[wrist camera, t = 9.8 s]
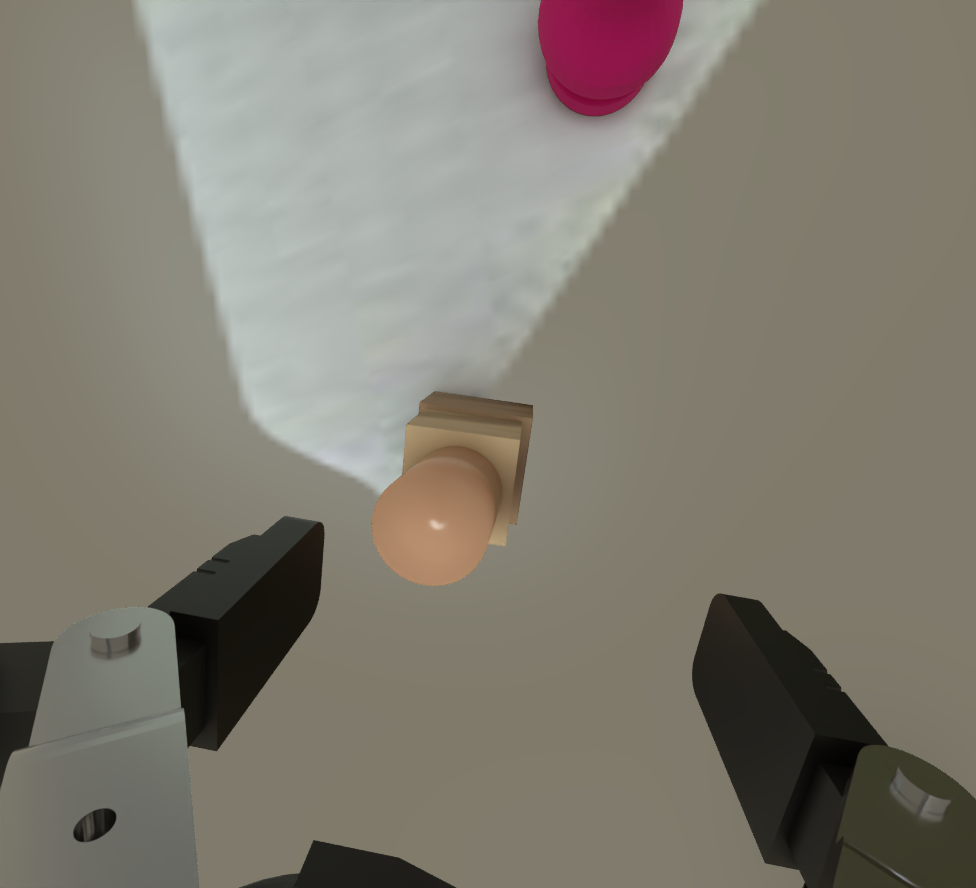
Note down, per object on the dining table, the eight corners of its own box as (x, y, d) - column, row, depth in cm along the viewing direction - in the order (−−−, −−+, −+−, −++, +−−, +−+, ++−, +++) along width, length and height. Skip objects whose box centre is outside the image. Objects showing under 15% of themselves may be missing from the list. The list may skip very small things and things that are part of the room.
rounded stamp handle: (412, 441, 27) (373, 466, 22) (506, 450, 27) (492, 478, 21) (407, 531, 28) (369, 578, 22) (498, 542, 28) (483, 592, 22)
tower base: (434, 391, 37) (419, 402, 32) (533, 405, 36) (532, 418, 32) (425, 484, 38) (409, 508, 34) (518, 498, 38) (516, 524, 33)
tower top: (425, 408, 32) (406, 424, 27) (522, 421, 32) (520, 440, 27) (417, 499, 33) (397, 530, 29) (509, 513, 33) (505, 546, 28)
